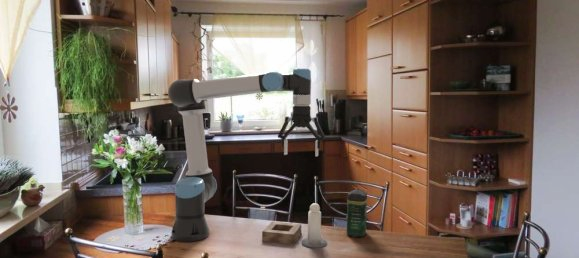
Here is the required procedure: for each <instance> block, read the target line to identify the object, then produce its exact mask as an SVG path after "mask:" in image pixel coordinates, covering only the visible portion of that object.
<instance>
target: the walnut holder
mask: <svg viewBox="0 0 579 258" xmlns="http://www.w3.org/2000/svg"><path fill="white" fill-rule="evenodd" d="M261 233H262V234H261V241H262V242H266V243H267V242H269V243H276V244H277V243H278V244H287V245H294V244H295V243H296V242H297V240H298V239H299V237H300V236H301V235H302V224H301V223H293V222H292V223H290V222H281V221H271V222H270V223H269V224H268V225H267V226H266V227H265V228H264V229H263V230H262V232H261Z"/></svg>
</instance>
